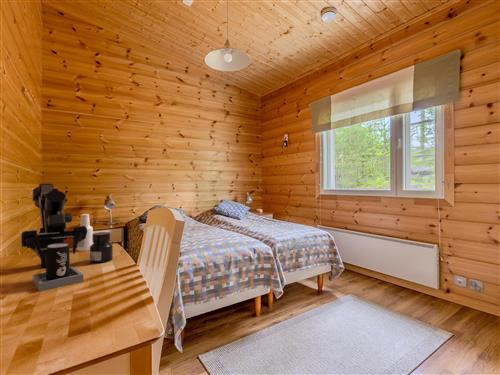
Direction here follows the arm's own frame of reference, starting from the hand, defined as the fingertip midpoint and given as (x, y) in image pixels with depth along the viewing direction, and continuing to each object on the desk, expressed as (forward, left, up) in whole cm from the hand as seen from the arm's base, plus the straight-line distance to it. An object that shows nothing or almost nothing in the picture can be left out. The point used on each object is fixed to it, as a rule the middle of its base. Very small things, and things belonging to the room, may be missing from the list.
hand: (58, 255), depth 90 cm
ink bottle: (-17, +19, -9) cm, 27 cm away
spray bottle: (-43, +20, -9) cm, 48 cm away
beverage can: (-1, 0, -9) cm, 9 cm away
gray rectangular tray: (-1, 0, -9) cm, 9 cm away
